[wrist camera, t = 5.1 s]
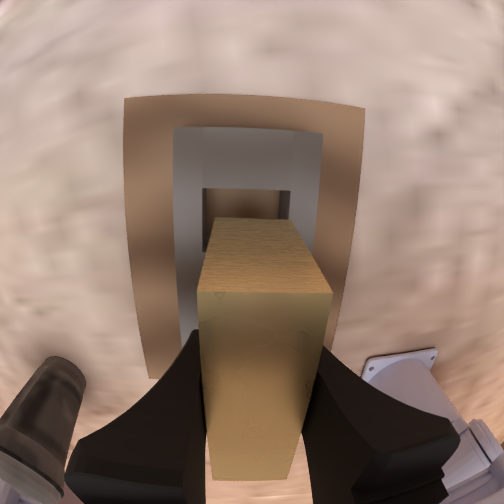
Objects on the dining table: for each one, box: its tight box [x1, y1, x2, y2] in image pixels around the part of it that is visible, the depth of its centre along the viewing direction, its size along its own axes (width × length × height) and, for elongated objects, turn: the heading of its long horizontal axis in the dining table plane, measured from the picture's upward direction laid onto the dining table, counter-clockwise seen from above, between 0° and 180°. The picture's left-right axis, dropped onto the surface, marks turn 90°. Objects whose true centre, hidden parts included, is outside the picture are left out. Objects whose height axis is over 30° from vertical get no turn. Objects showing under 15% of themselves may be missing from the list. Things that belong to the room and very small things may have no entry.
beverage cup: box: [0, 357, 86, 504], centre depth 14 cm, size 7×7×20 cm
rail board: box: [123, 94, 365, 379], centre depth 18 cm, size 20×14×4 cm
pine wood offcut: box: [197, 217, 333, 481], centre depth 11 cm, size 9×3×6 cm, turn 178°
